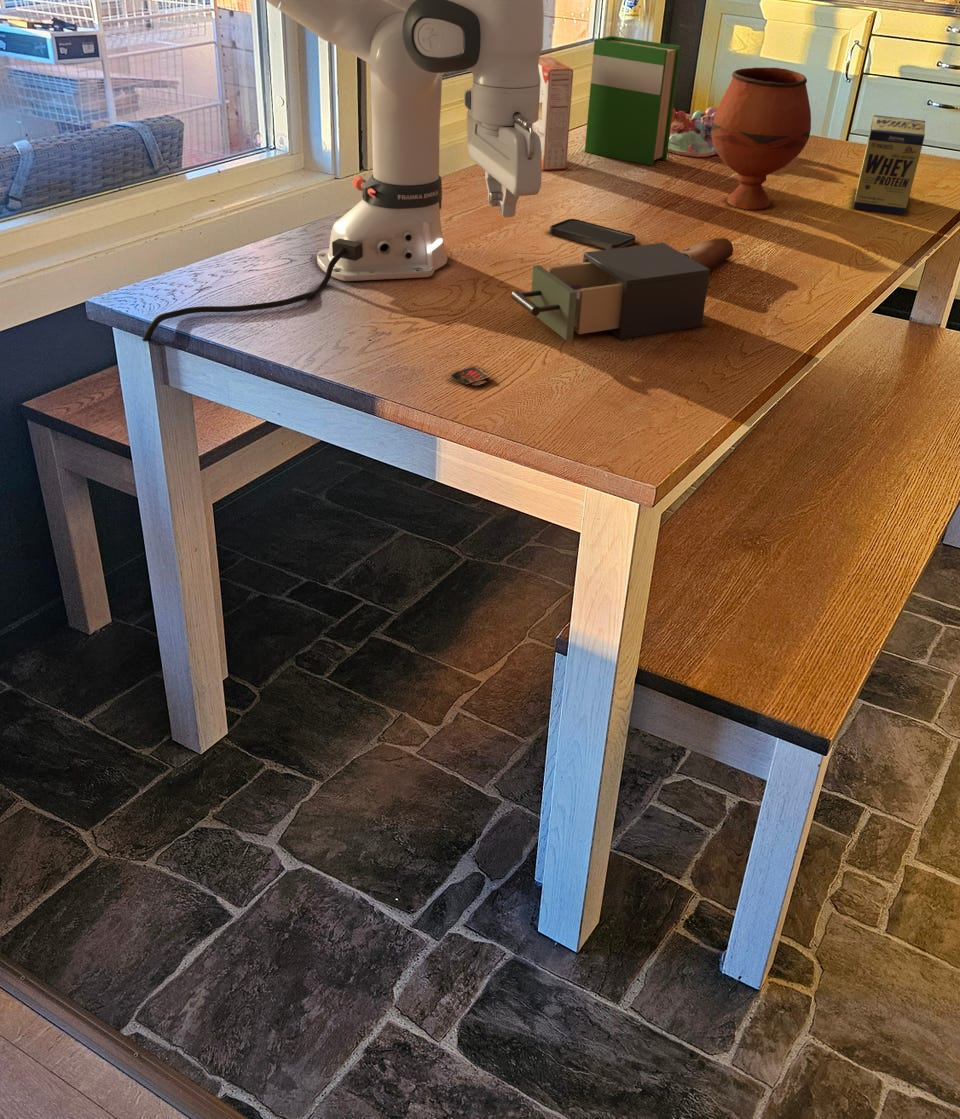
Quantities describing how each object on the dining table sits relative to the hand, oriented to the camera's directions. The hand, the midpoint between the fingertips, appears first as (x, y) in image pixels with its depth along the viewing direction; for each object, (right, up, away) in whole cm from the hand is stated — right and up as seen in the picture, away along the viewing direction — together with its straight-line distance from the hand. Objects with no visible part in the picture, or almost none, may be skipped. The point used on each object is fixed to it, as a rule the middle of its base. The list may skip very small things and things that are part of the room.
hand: (501, 210), depth 151 cm
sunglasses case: (+34, +2, +39) cm, 52 cm away
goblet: (+52, +25, +73) cm, 93 cm away
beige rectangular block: (+12, -11, +15) cm, 22 cm away
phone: (+18, +11, +51) cm, 55 cm away
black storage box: (+22, -10, +20) cm, 31 cm away
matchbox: (-4, -24, -1) cm, 24 cm away
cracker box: (+11, +41, +94) cm, 103 cm away
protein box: (+81, +26, +77) cm, 115 cm away
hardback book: (+31, +45, +102) cm, 115 cm away
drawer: (+11, -12, +15) cm, 22 cm away
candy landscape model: (+52, +51, +112) cm, 133 cm away
